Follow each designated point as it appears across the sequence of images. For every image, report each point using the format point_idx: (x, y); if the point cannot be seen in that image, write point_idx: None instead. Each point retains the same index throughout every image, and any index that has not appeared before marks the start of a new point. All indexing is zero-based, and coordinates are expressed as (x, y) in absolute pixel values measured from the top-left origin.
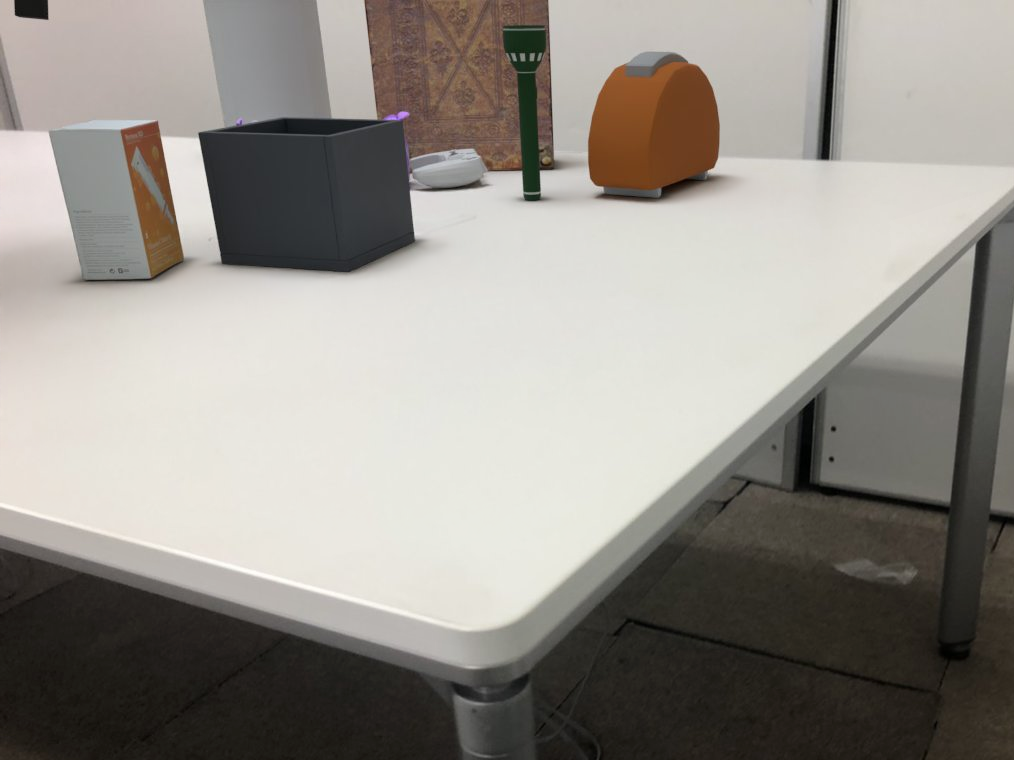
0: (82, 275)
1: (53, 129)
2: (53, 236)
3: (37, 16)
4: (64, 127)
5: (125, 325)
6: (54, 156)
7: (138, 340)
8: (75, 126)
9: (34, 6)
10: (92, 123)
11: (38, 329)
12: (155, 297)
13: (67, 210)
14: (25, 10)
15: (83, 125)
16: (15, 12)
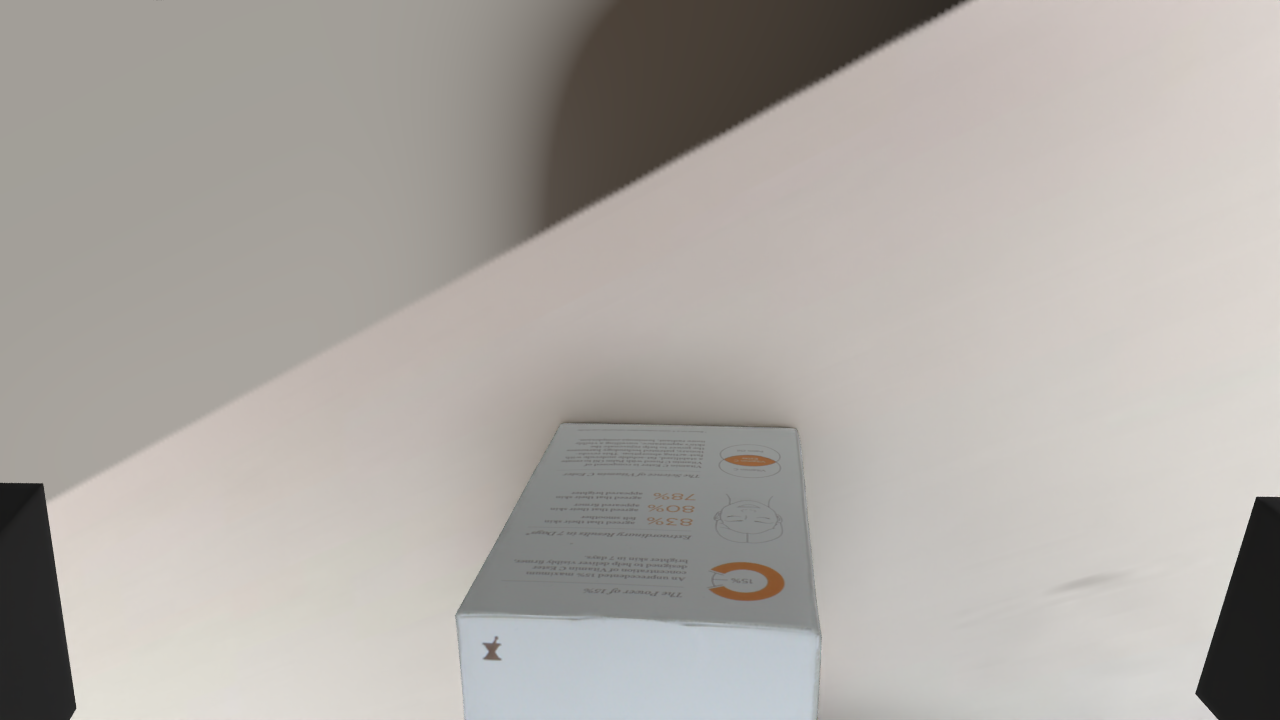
0: (560, 425)
1: (468, 629)
2: (1241, 17)
3: (1215, 658)
4: (537, 639)
5: (199, 660)
6: (481, 569)
7: (110, 716)
8: (548, 675)
9: (1264, 687)
10: (653, 697)
11: (156, 503)
12: (411, 646)
13: (521, 496)
14: (1260, 600)
15: (578, 692)
16: (1271, 513)
